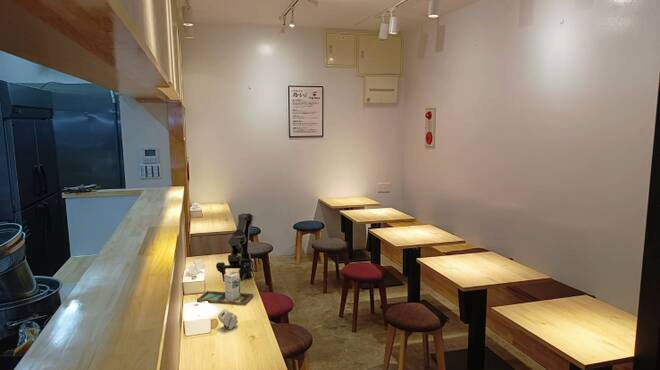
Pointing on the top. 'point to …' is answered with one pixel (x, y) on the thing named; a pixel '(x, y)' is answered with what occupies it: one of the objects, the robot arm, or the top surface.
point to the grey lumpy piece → (227, 319)
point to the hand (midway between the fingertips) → (232, 281)
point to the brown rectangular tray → (214, 298)
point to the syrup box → (232, 286)
